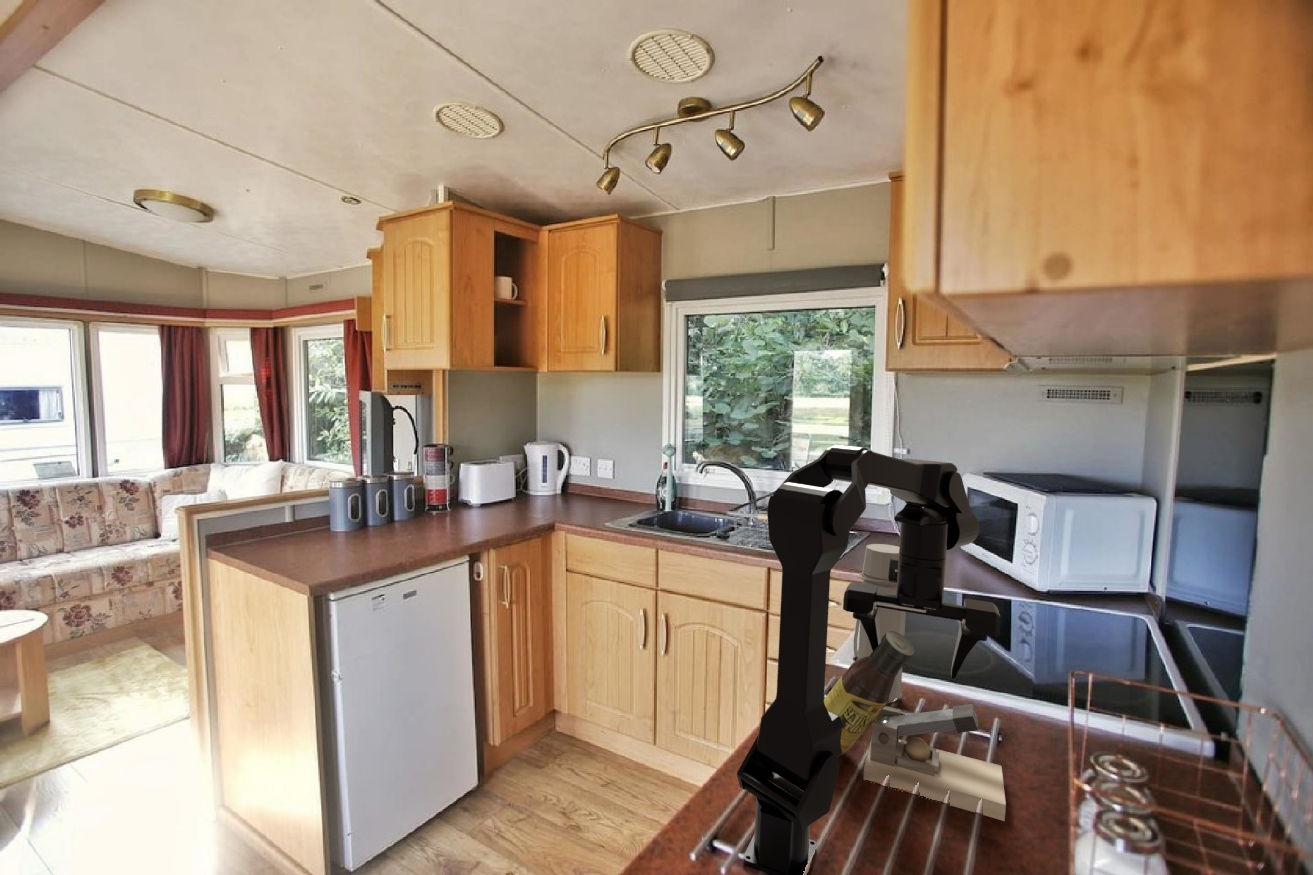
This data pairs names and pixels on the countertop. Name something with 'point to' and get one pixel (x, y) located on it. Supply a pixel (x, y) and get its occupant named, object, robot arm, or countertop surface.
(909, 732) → the nutcracker lever
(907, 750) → the walnut
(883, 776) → the nutcracker base
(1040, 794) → the countertop surface
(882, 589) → the water bottle
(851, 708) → the sauce bottle
